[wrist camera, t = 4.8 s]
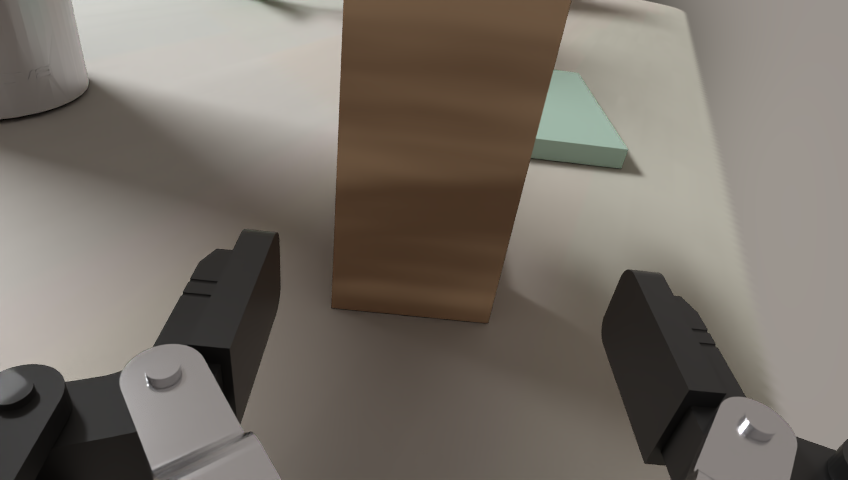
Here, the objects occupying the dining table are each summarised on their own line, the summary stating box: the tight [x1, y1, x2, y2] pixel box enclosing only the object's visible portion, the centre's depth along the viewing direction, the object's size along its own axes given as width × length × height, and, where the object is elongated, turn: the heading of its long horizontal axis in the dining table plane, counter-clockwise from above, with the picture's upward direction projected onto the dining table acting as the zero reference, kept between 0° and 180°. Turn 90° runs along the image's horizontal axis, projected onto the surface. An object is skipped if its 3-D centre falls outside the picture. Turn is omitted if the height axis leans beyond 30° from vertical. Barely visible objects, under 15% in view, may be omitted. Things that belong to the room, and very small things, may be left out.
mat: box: [531, 70, 628, 168], centre depth 37 cm, size 13×13×1 cm
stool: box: [331, 0, 571, 323], centre depth 21 cm, size 10×6×11 cm, turn 179°
